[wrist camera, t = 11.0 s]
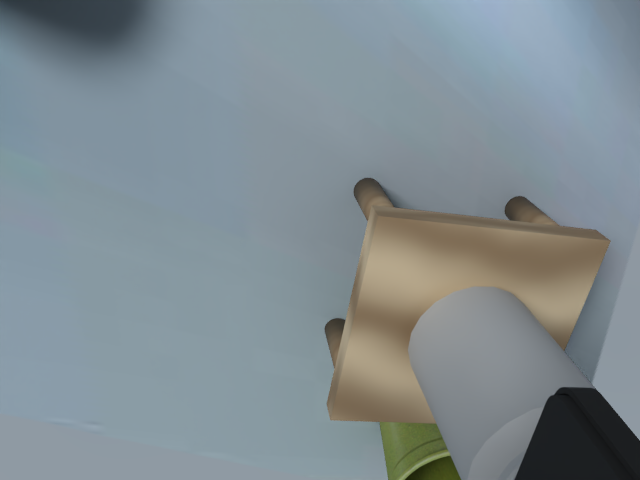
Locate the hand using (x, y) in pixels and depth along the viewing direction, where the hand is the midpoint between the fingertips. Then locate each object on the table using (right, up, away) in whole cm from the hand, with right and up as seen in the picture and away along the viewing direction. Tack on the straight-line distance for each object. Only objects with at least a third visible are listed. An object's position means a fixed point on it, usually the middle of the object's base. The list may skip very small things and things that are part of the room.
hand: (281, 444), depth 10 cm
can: (+9, -2, +25) cm, 27 cm away
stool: (+8, +1, +32) cm, 33 cm away
